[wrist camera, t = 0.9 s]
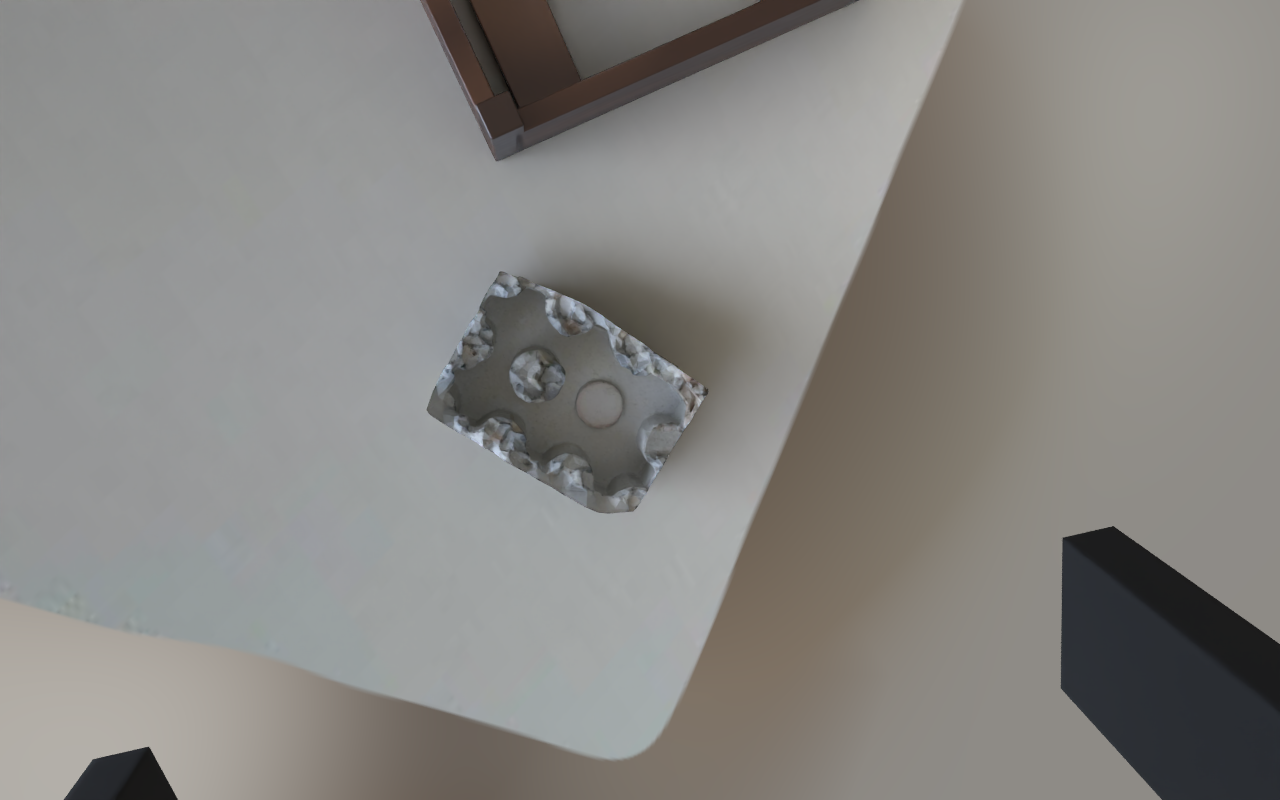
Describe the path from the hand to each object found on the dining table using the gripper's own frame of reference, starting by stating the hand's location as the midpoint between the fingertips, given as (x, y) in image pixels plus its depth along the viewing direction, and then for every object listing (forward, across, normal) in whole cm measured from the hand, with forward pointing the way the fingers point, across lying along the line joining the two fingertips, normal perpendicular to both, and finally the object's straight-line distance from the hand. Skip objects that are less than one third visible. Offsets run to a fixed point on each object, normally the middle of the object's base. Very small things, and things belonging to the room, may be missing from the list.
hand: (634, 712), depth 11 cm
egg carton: (+25, -1, -4) cm, 26 cm away
